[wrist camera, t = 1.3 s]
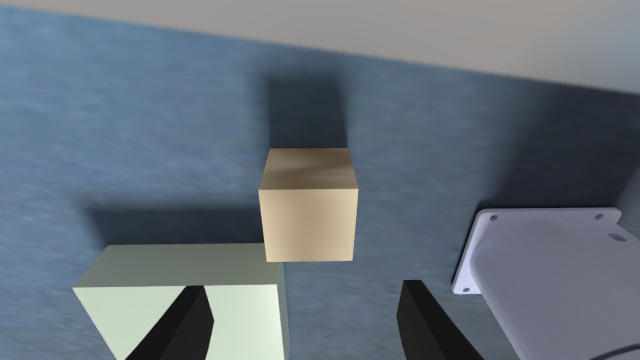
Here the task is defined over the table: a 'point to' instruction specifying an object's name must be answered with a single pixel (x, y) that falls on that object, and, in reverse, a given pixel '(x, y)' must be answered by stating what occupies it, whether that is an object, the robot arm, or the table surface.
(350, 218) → the birch block
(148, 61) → the table surface
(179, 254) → the green box
